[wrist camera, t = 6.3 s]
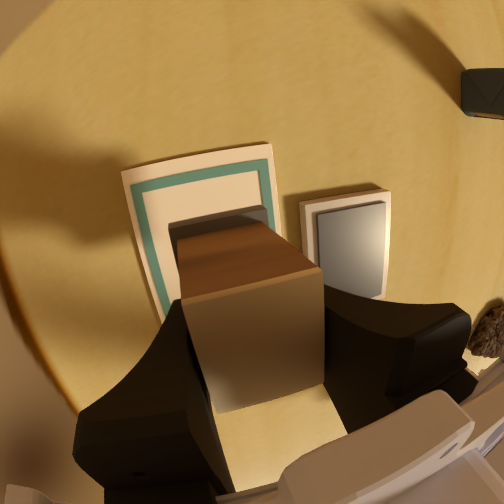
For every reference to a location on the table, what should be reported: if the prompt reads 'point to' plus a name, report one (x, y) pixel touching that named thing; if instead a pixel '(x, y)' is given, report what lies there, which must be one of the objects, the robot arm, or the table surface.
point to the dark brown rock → (489, 335)
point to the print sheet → (193, 203)
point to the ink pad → (349, 240)
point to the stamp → (249, 307)
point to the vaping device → (483, 92)
